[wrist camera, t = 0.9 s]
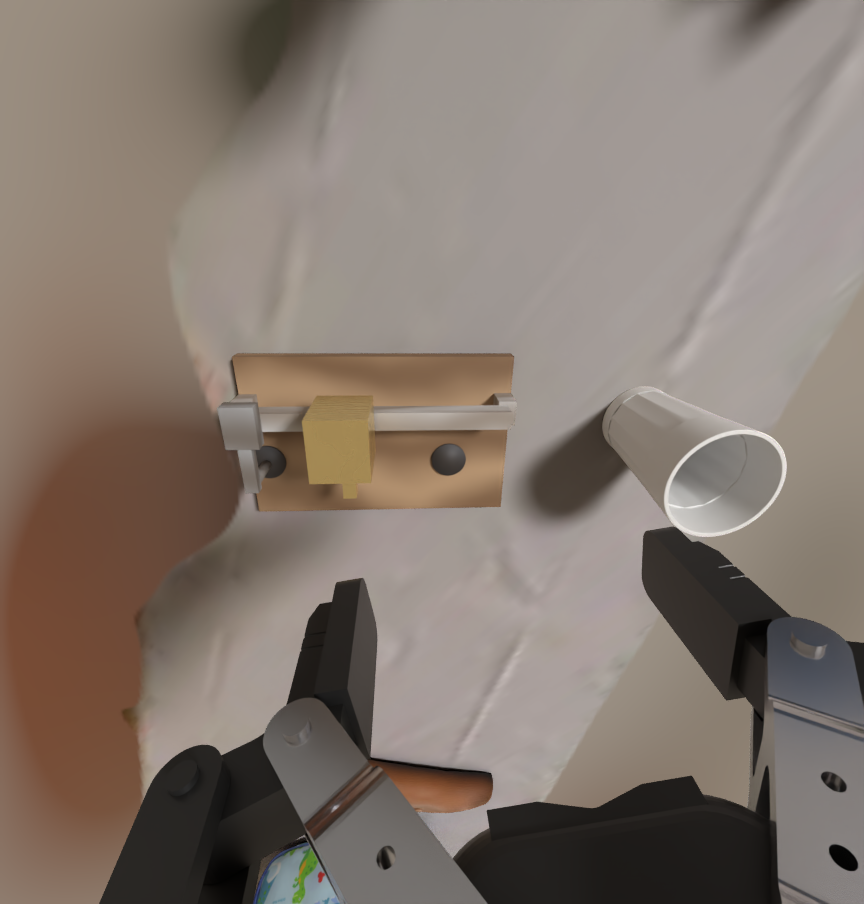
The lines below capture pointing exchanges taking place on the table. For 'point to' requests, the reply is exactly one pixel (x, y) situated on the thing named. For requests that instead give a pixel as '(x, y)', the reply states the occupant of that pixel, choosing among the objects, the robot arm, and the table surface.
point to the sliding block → (340, 441)
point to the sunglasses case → (439, 787)
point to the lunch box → (295, 879)
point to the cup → (695, 461)
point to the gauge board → (376, 427)
